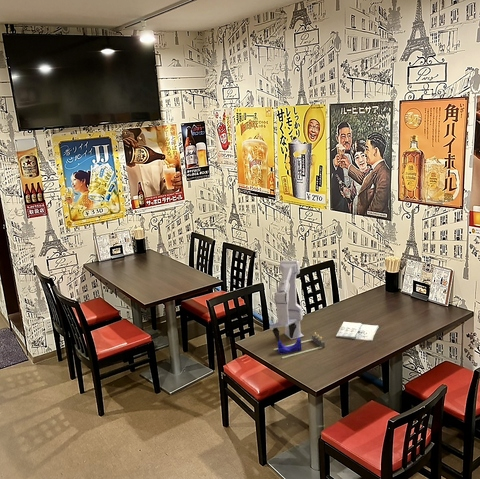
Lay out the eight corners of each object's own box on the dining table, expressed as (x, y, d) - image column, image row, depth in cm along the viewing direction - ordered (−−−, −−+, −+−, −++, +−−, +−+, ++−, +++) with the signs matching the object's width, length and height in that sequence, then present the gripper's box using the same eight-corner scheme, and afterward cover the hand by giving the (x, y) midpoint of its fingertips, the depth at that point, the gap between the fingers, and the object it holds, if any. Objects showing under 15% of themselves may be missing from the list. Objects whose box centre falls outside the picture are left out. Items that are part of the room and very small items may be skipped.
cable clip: (279, 354, 257) (278, 343, 255) (278, 350, 261) (277, 340, 260) (302, 352, 257) (301, 341, 256) (300, 348, 262) (299, 337, 260)
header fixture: (273, 349, 262) (273, 341, 260) (314, 339, 269) (314, 330, 268) (282, 358, 252) (281, 350, 250) (324, 347, 259) (324, 338, 258)
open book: (344, 323, 286) (344, 320, 285) (379, 327, 277) (379, 324, 276) (335, 338, 270) (335, 334, 269) (372, 343, 261) (372, 339, 260)
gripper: (273, 320, 242) (275, 346, 245) (299, 314, 247) (300, 339, 250) (267, 315, 248) (269, 340, 252) (292, 309, 253) (294, 333, 256)
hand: (284, 339), depth 251 cm, fingers open, 7 cm apart
